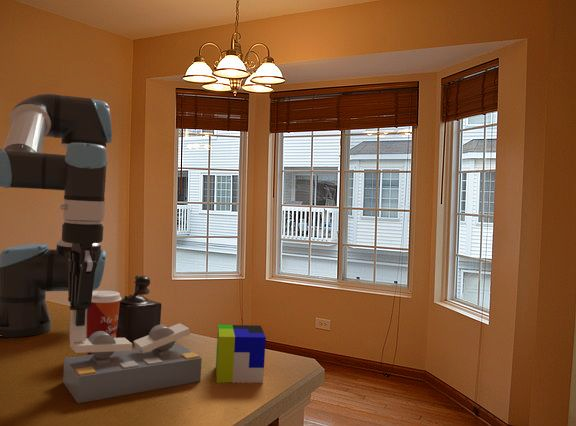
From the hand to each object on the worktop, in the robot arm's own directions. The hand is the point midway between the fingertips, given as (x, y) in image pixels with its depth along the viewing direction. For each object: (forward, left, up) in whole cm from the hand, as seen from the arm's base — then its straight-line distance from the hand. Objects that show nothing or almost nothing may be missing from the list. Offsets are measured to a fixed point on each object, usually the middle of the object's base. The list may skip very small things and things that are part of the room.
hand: (77, 340), depth 100 cm
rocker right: (0, +18, -4) cm, 19 cm away
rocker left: (0, +4, -4) cm, 6 cm away
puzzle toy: (+7, +33, -10) cm, 35 cm away
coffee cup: (-19, +10, -10) cm, 23 cm away
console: (+1, +11, -10) cm, 15 cm away
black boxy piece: (-30, +23, -10) cm, 39 cm away
